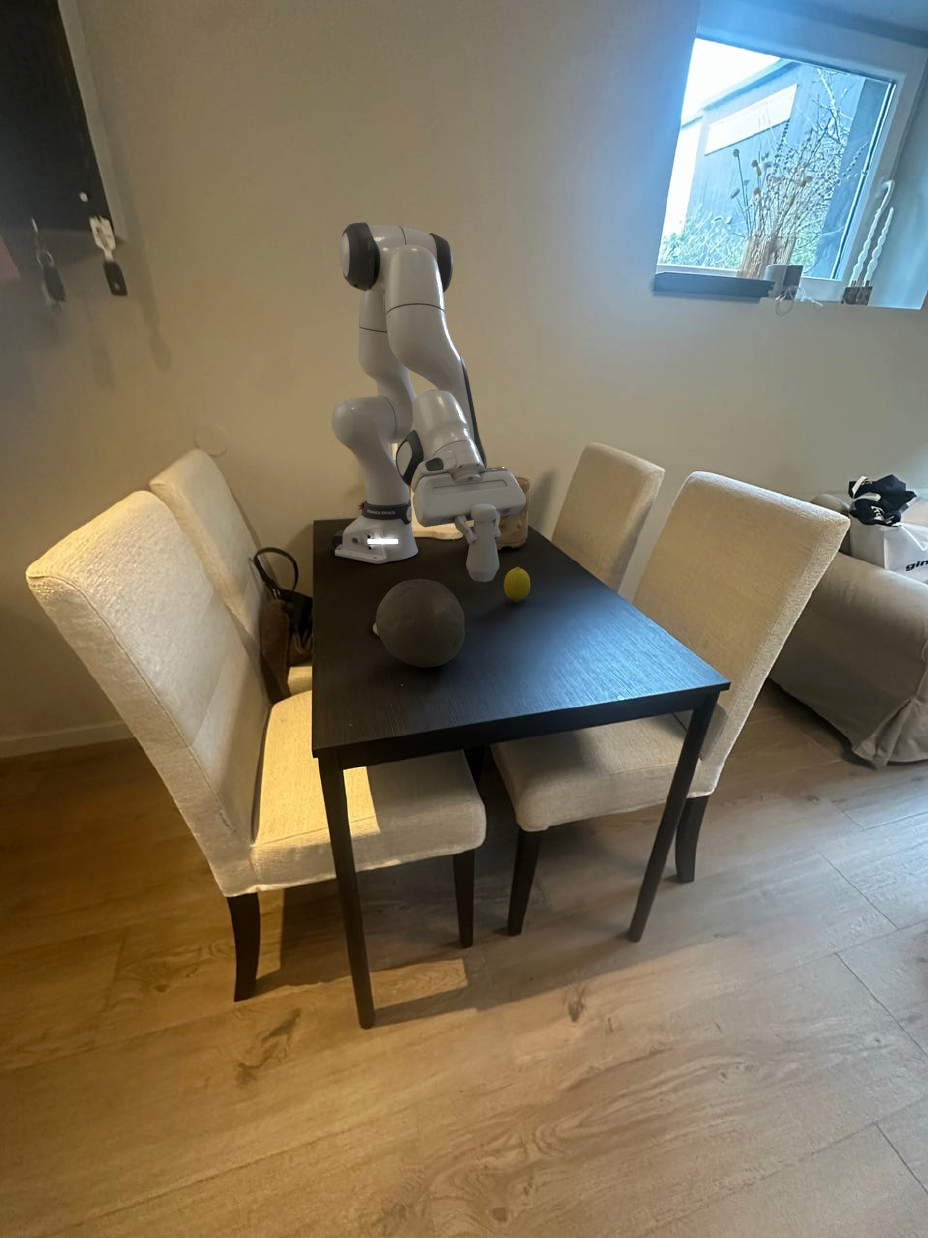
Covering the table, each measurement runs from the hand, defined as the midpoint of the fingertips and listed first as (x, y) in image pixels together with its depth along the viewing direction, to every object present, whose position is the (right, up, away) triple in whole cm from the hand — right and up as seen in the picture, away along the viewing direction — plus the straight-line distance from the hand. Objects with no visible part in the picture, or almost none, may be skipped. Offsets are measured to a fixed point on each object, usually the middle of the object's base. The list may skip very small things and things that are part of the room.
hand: (484, 539), depth 85 cm
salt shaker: (0, -6, +4) cm, 7 cm away
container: (+8, +7, +56) cm, 57 cm away
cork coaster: (-17, -15, +12) cm, 26 cm away
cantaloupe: (-10, -21, 0) cm, 24 cm away
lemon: (+8, -10, +22) cm, 25 cm away
